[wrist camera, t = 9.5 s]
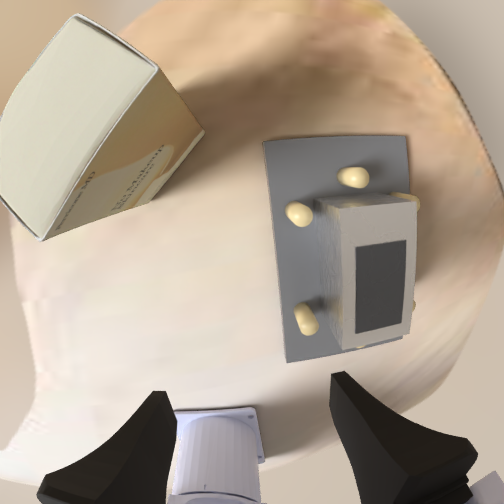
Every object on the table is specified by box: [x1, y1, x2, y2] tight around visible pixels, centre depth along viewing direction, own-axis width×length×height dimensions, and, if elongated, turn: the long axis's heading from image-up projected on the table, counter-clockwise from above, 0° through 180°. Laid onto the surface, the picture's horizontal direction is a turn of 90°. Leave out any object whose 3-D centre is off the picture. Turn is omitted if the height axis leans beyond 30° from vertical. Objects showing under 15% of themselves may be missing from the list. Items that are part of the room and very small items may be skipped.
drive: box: [314, 193, 417, 350], centre depth 17 cm, size 8×4×5 cm, turn 7°
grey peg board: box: [263, 136, 420, 363], centre depth 19 cm, size 16×10×3 cm, turn 7°
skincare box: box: [0, 13, 205, 242], centre depth 12 cm, size 6×4×12 cm
